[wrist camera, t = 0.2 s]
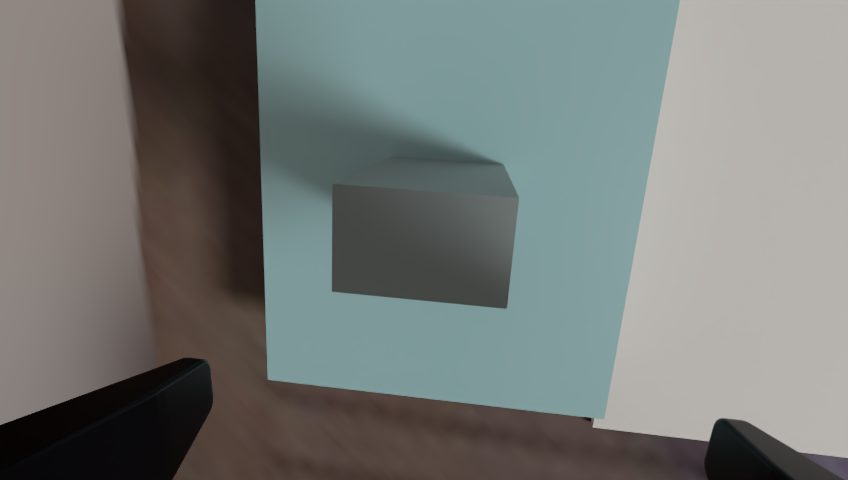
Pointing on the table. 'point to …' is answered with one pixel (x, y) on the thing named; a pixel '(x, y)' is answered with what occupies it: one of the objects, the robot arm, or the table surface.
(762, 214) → the grey mat
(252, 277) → the table surface
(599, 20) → the teal lid
